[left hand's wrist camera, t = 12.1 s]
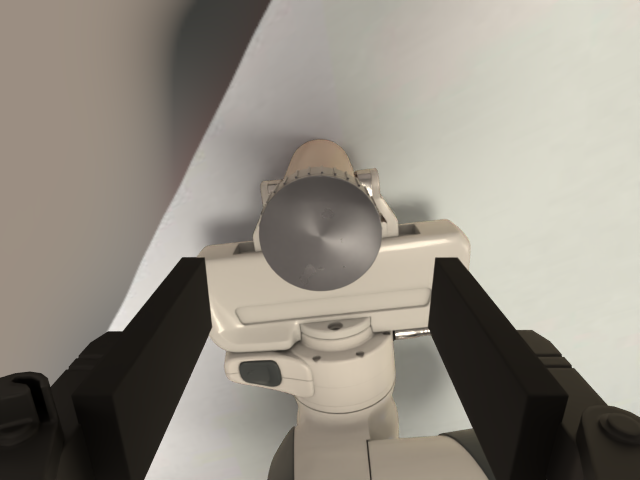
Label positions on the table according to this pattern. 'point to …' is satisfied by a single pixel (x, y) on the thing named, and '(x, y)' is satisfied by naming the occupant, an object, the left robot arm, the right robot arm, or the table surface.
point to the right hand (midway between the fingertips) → (318, 176)
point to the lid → (320, 229)
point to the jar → (319, 157)
